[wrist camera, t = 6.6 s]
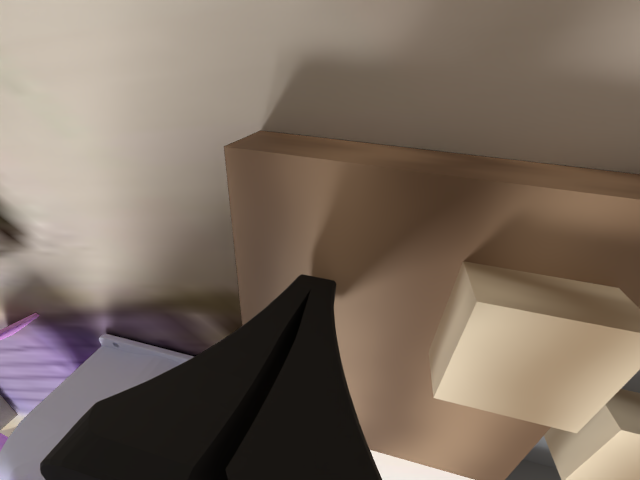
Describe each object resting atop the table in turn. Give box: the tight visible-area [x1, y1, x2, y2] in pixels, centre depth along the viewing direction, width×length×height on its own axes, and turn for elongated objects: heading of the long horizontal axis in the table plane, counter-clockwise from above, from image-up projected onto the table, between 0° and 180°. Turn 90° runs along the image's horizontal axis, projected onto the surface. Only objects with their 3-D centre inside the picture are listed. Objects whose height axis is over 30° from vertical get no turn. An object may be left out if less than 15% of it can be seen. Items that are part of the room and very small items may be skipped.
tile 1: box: [544, 389, 640, 480], centre depth 13 cm, size 4×4×2 cm
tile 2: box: [429, 261, 640, 433], centre depth 10 cm, size 4×4×2 cm
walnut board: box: [224, 131, 640, 480], centre depth 14 cm, size 14×16×3 cm
